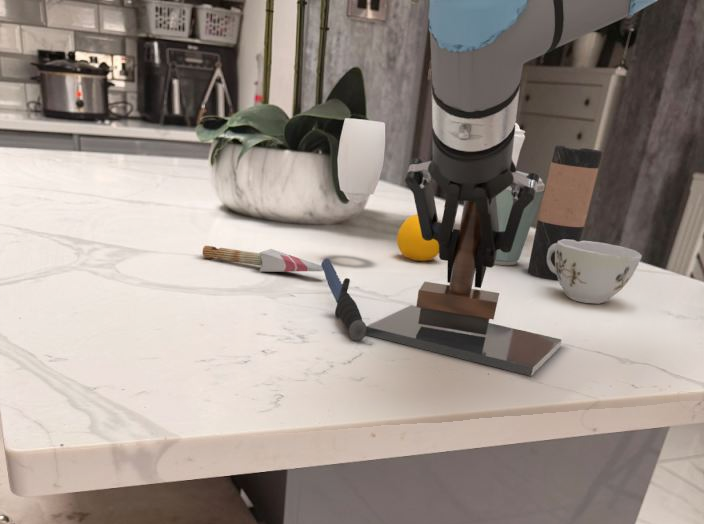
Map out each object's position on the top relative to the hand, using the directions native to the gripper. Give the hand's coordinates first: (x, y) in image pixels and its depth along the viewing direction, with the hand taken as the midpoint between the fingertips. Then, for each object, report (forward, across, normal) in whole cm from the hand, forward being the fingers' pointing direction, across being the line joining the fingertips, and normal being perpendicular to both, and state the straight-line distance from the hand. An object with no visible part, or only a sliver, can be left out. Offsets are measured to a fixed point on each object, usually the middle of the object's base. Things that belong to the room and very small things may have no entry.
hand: (466, 275), depth 92 cm
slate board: (+2, +2, -8) cm, 8 cm away
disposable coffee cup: (+41, -1, +31) cm, 52 cm away
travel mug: (+38, +8, +28) cm, 48 cm away
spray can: (+55, -6, +45) cm, 71 cm away
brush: (+1, 0, -6) cm, 6 cm away
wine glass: (+26, -23, +16) cm, 38 cm away
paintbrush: (+15, -32, +5) cm, 35 cm away
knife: (+2, -14, -4) cm, 15 cm away
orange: (+34, -14, +24) cm, 44 cm away
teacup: (+28, +14, +18) cm, 36 cm away
